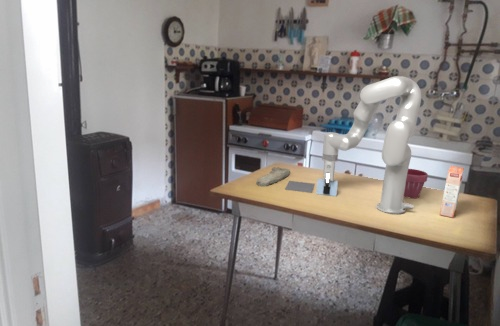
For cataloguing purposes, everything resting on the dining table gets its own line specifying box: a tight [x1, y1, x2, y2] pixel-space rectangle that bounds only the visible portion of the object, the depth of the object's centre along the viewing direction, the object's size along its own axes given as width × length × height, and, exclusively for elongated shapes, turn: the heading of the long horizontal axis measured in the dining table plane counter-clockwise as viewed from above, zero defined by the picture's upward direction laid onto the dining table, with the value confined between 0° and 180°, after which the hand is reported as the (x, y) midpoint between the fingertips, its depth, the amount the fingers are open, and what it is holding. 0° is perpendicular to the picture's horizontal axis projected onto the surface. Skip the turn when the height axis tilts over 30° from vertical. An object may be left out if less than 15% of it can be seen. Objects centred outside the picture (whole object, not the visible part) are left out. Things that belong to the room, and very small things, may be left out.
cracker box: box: [439, 165, 465, 219], centre depth 176 cm, size 14×6×21 cm, turn 148°
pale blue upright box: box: [315, 178, 339, 197], centre depth 196 cm, size 10×4×7 cm, turn 76°
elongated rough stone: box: [255, 166, 291, 187], centre depth 218 cm, size 35×5×10 cm
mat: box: [284, 180, 316, 193], centre depth 206 cm, size 14×16×1 cm
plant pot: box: [404, 168, 429, 199], centre depth 200 cm, size 14×14×13 cm
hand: (326, 192), depth 196 cm, fingers closed on pale blue upright box, 4 cm apart
